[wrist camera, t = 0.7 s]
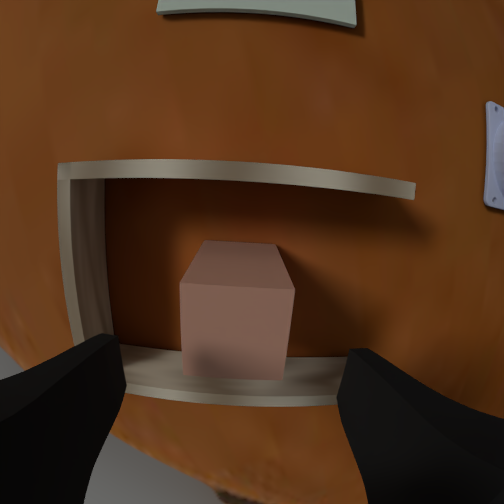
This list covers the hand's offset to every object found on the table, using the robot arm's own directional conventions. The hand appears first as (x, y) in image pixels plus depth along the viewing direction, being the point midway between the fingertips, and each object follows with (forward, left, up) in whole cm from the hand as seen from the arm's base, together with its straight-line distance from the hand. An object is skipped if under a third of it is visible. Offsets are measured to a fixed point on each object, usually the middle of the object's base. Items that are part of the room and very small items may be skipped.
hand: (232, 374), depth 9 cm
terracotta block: (0, 0, -9) cm, 9 cm away
